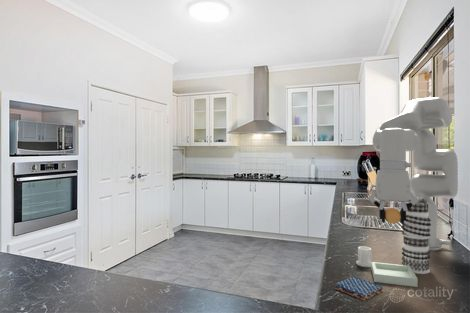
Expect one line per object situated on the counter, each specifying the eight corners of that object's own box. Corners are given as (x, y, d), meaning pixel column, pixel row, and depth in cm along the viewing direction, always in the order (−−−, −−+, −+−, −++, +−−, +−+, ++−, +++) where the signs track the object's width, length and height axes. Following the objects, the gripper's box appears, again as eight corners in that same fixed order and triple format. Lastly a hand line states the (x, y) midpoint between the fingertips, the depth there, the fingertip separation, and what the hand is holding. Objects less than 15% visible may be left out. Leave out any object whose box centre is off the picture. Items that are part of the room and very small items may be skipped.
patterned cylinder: (394, 266, 113) (394, 196, 113) (413, 263, 116) (413, 195, 116) (417, 275, 104) (417, 200, 104) (437, 272, 108) (437, 198, 108)
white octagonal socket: (372, 263, 117) (372, 246, 117) (373, 268, 111) (373, 251, 111) (356, 261, 119) (356, 245, 119) (356, 266, 113) (356, 249, 113)
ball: (399, 222, 104) (399, 207, 104) (402, 225, 99) (402, 209, 99) (383, 221, 106) (383, 206, 106) (385, 224, 101) (385, 208, 101)
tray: (409, 273, 107) (409, 265, 107) (417, 287, 95) (417, 278, 95) (371, 268, 111) (371, 261, 111) (374, 281, 99) (374, 273, 99)
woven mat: (332, 290, 94) (332, 283, 94) (353, 281, 101) (353, 275, 101) (364, 303, 86) (364, 295, 86) (385, 293, 92) (385, 286, 92)
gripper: (419, 166, 104) (419, 222, 103) (363, 165, 109) (363, 218, 109) (425, 167, 96) (425, 226, 96) (365, 166, 102) (364, 222, 102)
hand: (392, 221), depth 103 cm, fingers closed on ball, 4 cm apart
